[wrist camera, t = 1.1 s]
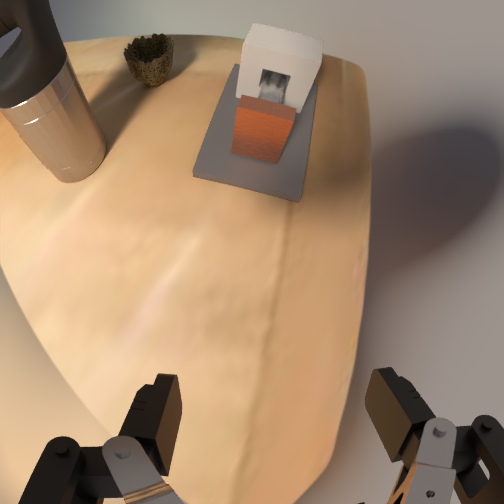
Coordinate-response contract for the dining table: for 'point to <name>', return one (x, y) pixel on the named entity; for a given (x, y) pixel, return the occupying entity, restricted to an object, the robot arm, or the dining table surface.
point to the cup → (150, 59)
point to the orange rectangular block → (263, 121)
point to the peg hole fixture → (249, 83)
